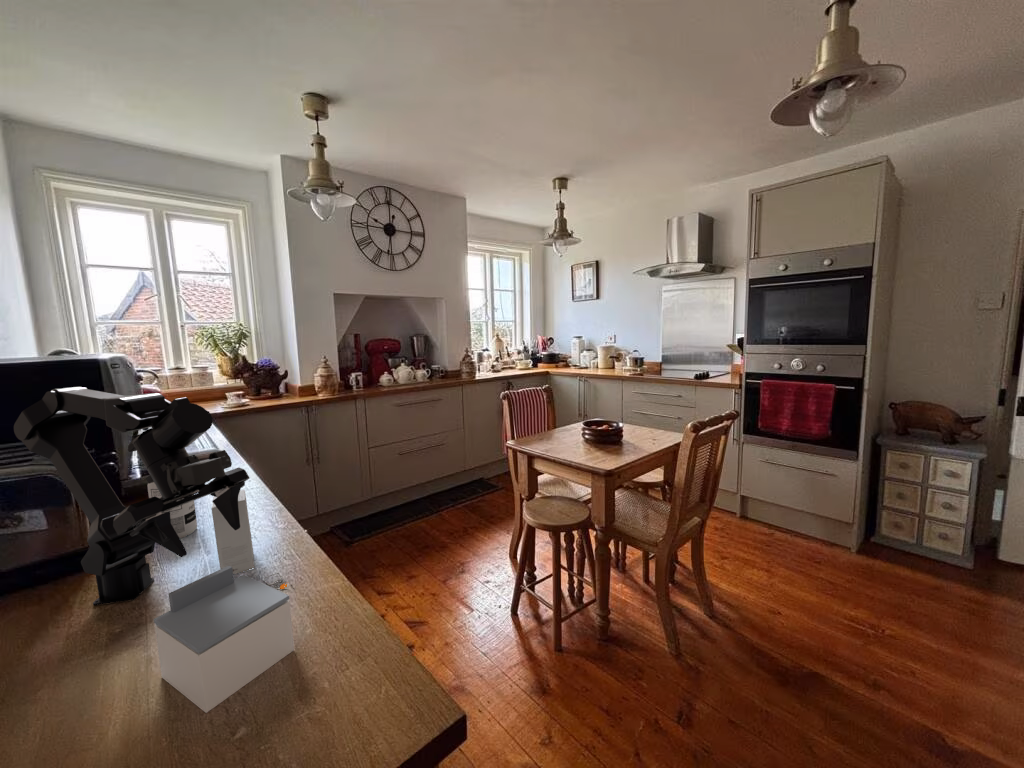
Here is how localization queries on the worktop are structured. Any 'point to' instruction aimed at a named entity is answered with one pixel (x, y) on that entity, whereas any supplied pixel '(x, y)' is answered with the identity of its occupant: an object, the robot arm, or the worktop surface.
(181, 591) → the lid
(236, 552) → the skincare box
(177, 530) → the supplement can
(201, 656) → the mailer box
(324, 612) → the worktop surface
